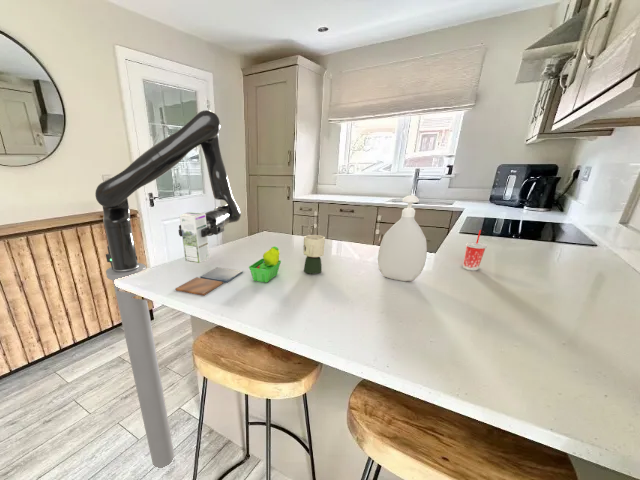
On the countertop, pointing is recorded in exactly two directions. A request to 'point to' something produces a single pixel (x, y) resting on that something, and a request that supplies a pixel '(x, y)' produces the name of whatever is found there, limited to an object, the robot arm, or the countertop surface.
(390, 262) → the soap bottle
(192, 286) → the wooden coaster
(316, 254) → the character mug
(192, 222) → the syrup box
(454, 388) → the countertop surface
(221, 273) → the slate pad
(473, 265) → the beverage cup
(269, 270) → the fruit basket
